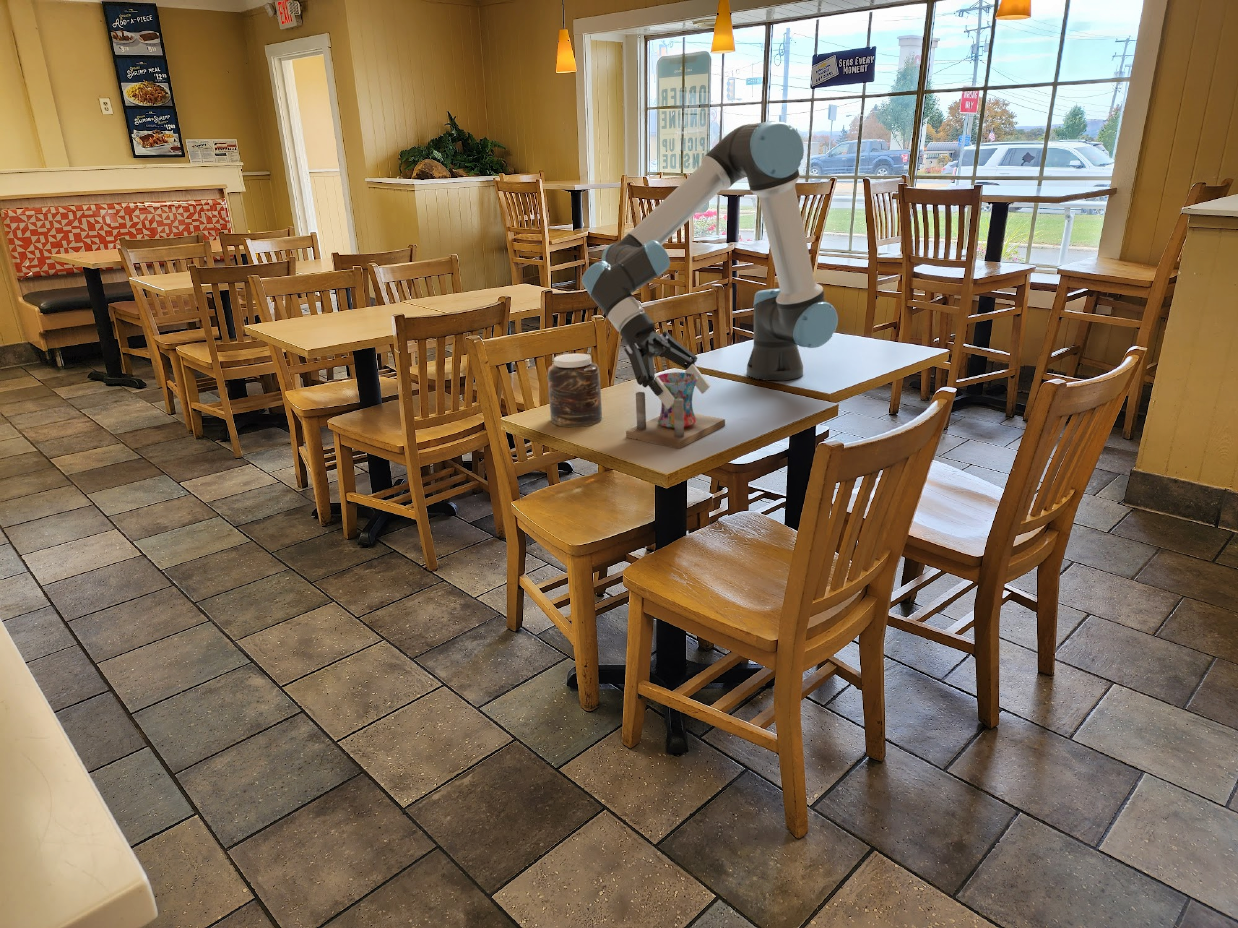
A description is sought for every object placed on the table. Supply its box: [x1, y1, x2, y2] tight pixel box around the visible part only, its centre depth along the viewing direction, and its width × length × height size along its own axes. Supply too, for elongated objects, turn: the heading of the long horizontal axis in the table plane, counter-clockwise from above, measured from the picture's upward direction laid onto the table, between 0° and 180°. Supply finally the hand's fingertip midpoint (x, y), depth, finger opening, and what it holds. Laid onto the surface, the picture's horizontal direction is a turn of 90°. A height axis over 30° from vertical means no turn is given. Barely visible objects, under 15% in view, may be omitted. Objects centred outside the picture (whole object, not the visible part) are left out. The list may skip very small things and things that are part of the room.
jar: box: [547, 353, 603, 428], centre depth 187 cm, size 12×12×15 cm
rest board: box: [625, 391, 726, 449], centre depth 177 cm, size 18×14×10 cm
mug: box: [654, 371, 698, 428], centre depth 178 cm, size 12×9×11 cm
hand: (689, 397), depth 176 cm, fingers open, 13 cm apart
